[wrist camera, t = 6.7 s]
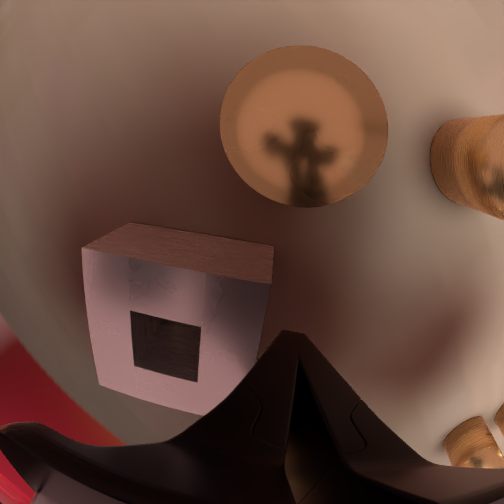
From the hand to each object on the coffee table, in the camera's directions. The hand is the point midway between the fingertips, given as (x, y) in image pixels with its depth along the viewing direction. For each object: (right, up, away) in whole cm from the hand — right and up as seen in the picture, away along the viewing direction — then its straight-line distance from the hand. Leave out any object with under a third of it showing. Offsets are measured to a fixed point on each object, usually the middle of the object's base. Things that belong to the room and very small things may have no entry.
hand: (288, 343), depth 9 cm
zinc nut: (-3, +1, +2) cm, 4 cm away
